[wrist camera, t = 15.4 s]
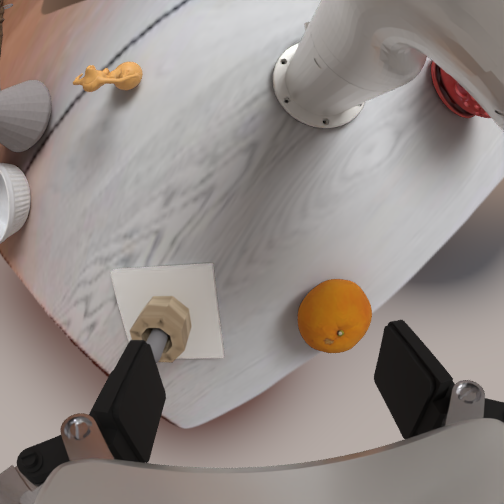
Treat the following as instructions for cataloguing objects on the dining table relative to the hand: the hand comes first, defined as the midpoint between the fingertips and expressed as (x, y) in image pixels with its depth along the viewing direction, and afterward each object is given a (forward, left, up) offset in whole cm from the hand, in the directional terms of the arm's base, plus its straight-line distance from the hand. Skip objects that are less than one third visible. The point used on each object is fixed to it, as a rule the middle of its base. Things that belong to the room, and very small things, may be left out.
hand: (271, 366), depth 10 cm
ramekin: (-8, -40, -29) cm, 50 cm away
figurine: (-20, -15, -28) cm, 38 cm away
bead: (+13, -13, -27) cm, 32 cm away
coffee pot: (-25, -32, -28) cm, 50 cm away
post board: (+13, -13, -28) cm, 34 cm away
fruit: (+13, +10, -29) cm, 33 cm away
